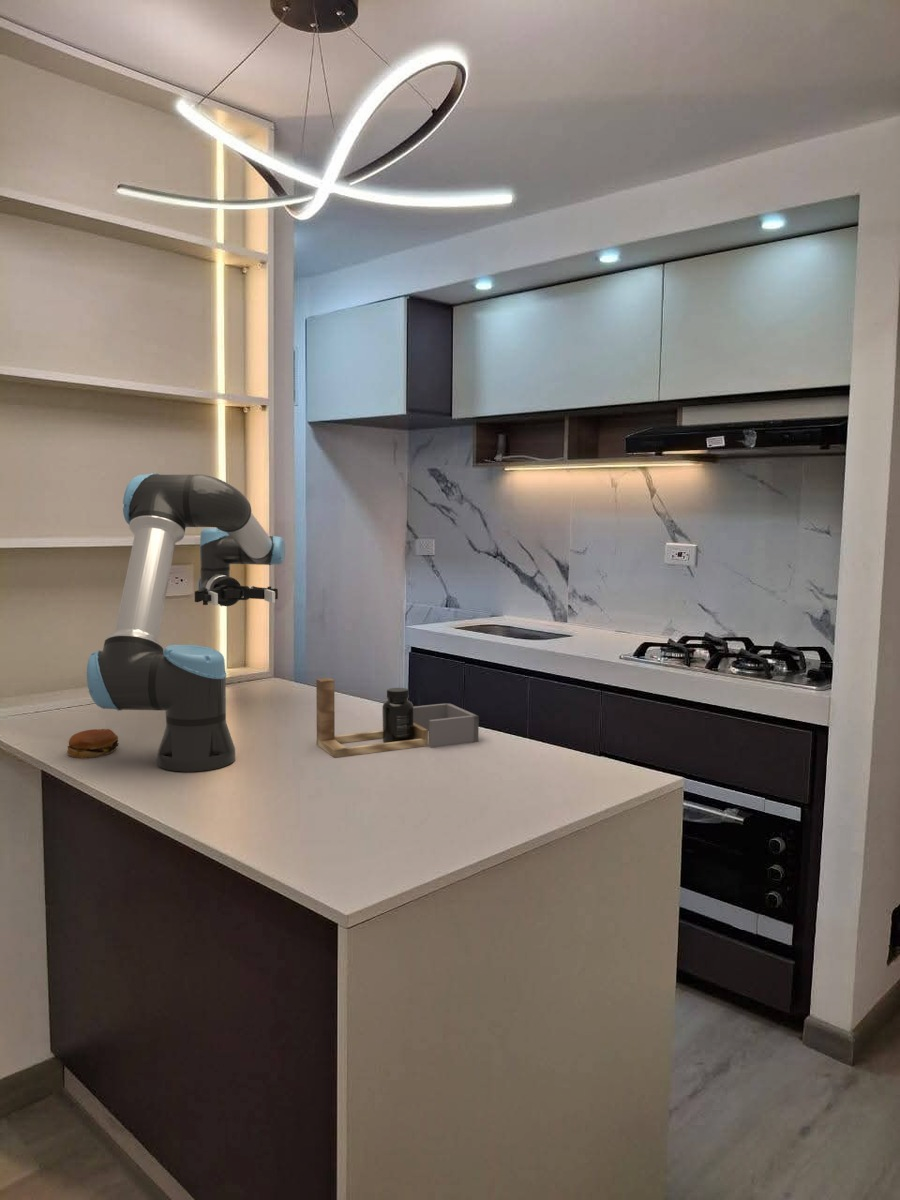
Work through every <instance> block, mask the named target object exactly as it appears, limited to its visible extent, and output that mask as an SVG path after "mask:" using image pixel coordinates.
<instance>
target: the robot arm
mask: <svg viewBox="0 0 900 1200" xmlns="http://www.w3.org/2000/svg"><path fill="white" fill-rule="evenodd" d="M123 493H124V494H123V497H122V498H123V499H122V504H123V507H122V513H123V518H124V520H125V522H126V523H127V524H128V526H129V527H128V528H129V530H130V532H131V533H133V535H134V536H133V541H132V547H131V550H130V554H129V561H128V565H127V571H126V576H125V581H124V584H123V589H122V595H121V599H120V600H121V601H120V605H119V610H118V614H117V619H116V625H115V629H114V633H113V634H111V635H109V636H107V637H106V638H105V640H104V642H103V646H102V647H103V648H102V650H96V651H94V652H92V653H90V656H89V658H88V661H87V664H86V683H87V688H88V692H89V695H90V698H91V699H92V701H93V703H94V704H95V705H96V706H97V707H98V708H101V709H104V710H105V709H107V710H116V711H124V710H125V711H127V710H129V711H132V710H133V711H164V712H165V721H166V722H165V728H164V732H163V735H162V738H161V742H160V744H159V748H158V752H157V765H158V767H160V768H161V769H164V770H168V771H174V772H186V773H187V772H202V771H203V772H206V771H211V770H215V769H220V768H223V767H227V766H229V765H231V764H233V763H234V762H235V761H236V747H235V744H234V741H233V738H232V735H231V733H230V729H229V727H228V725H227V712H226V711H227V707H226V705H227V703H226V702H227V697H226V696H227V695H226V693H227V691H226V688H227V687H226V679H227V678H226V677H227V673H226V668H225V667H226V663H225V658H224V655H223V653H221V652H220V651H219V650H216V649H215V648H211V647H207V646H202V645H195V644H170V645H167V646H166V647H165V648H164V646H163V645H162V644H161V643H160V641H159V635H160V630H161V625H162V618H163V613H164V607H165V602H166V597H167V591H168V586H169V581H170V575H171V570H172V569H171V568H172V565H173V559H174V558H173V557H174V553H175V547H176V543H178V542H180V541H182V540H183V539H184V537H185V532H186V528H202V529H201V531H200V539H199V540H200V541H199V556H200V577H199V579H198V581H197V589H198V590H195V591H194V602H195V603H199V602H202V605H203V606H207V605H208V604H211V605H213V606H220V607H230V606H231V607H232V606H234V605H235V604H237V603H238V602H239V601H247V600H250V599H253V600H264V601H266V602H267V603H271V604H275V603H276V600H278V599H279V598H278V597H279V595H278V594H279V592H278V591H279V589H278V588H272V586H266V587H259V586H254V585H253V586H251V587H249V586H248V585H241V583H240V582H239V581H238V580H237V579H236V578H233V577H231V576H230V572H231V571H230V569H231V565H257V566H258V565H259V566H260V565H261V566H263V565H264V566H273V565H282V564H283V563H284V561H285V559H286V544H285V539H284V538H283V537H282V536H275V535H272V536H271V535H270V536H269V534H268V533H267V531H266V530H265V529H264V527H263V526H262V524H261V523H260V522H259V520H257V517H255V516H254V514H253V513H252V506H251V503H250V502H249V500H248V499H247V497H246V496H245V495H244V494H243V493H242V492H241V491H240V490H238V489H237V488H236V487H234V486H233V485H232V484H230V483H229V482H226V481H225V480H222V479H219V478H217V477H214V476H211V475H207V474H199V473H197V474H159V473H154V472H151V473H150V474H148V473H147V474H146V473H145V474H138V475H136V476H134V477H133V478H132V479H131V480H129V482H128V484H127V486H126V487H125V490H124V492H123Z"/></svg>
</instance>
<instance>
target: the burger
mask: <svg viewBox="0 0 900 1200" xmlns="http://www.w3.org/2000/svg"><path fill="white" fill-rule="evenodd" d="M119 745H120V743H119V736H118V735H117V734H116V733H115V732H114V731H113V730H111V729H110V728H99V729H95V728H94V729H86V730H83V731H79V732H77V733H75V734H73V735H72V736H70V738H69V740H68V745H67V754H68V756H70V757H73V758H76V759H92V758H96V757H97V758H98V757H101V756H105V755H109V754H112V753H113V752H114V751H115V750H117V747H119Z"/></svg>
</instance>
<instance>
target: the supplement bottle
mask: <svg viewBox="0 0 900 1200" xmlns="http://www.w3.org/2000/svg"><path fill="white" fill-rule="evenodd" d="M409 692H410V691H409V689H408V688H406V687H392V688H388V689H386V701H384V703H383V705H382V709H381V710H382V730H383V738H382V743H388V742H396V741H405V740H413V736H414V732H413V707H414V704H413V702H412V701H410V700H409V699H410V695H409Z"/></svg>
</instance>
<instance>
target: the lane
mask: <svg viewBox="0 0 900 1200" xmlns="http://www.w3.org/2000/svg"><path fill="white" fill-rule="evenodd" d="M479 717H480V716H479V715H477V714H475V713H473V712H470V711H468V710H466V709H465V708H464V709H463V708H461V707H459V706H457V705H455V704H452V703H450V702H447V703H446V702H445V703H436V704H435V703H434V704H426V705H415V706H413V723H415V724H417V725H419V726H421V727H423V728H425V729H427V730H428V747H429V748H431V749H432V748H433V749H434V748H440V747H441V748H442V747H448V746H457V745H464V744H472V743H479V722H480V721H479V719H480V718H479Z"/></svg>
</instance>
